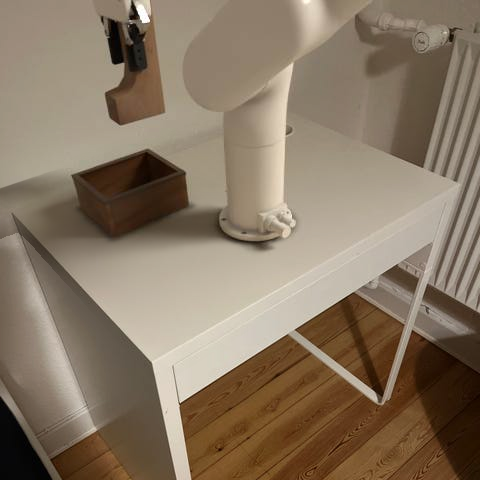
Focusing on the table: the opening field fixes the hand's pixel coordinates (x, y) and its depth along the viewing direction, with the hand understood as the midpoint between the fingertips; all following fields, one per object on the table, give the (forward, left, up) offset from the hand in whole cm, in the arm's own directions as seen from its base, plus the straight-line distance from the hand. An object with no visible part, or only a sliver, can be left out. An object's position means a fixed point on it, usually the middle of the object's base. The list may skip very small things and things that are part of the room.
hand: (129, 65), depth 83 cm
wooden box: (-4, +6, -22) cm, 23 cm away
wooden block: (0, 0, -9) cm, 9 cm away
